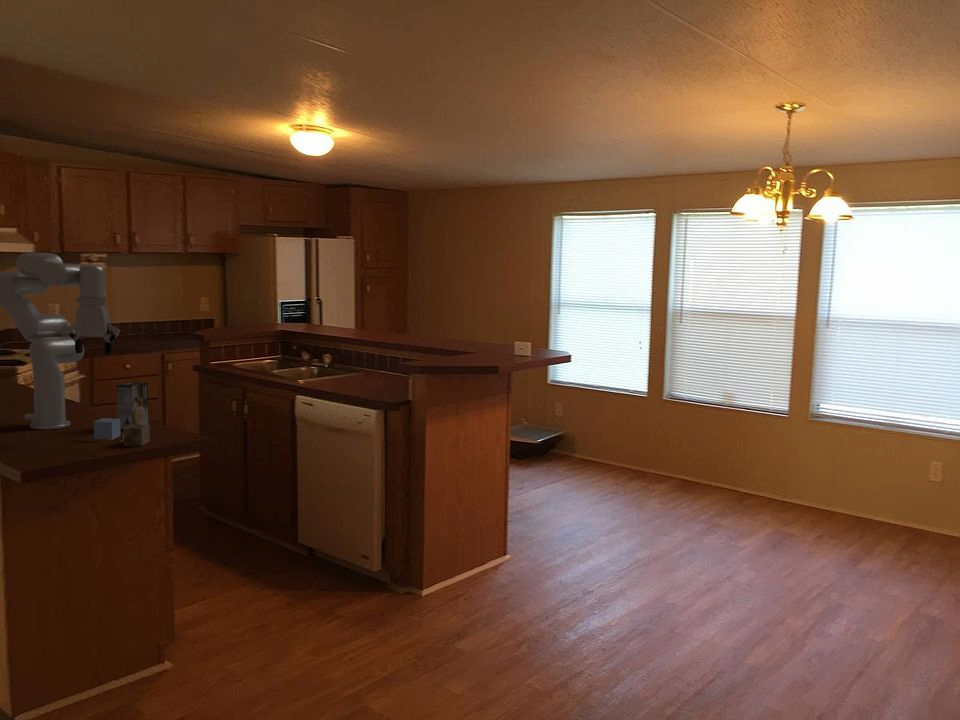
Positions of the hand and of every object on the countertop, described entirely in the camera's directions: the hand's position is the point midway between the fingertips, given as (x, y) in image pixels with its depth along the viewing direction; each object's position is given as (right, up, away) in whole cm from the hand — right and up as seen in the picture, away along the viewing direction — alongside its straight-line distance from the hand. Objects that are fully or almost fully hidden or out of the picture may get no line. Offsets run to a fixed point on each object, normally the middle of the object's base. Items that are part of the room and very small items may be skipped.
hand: (93, 353), depth 257 cm
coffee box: (+5, -27, +18) cm, 33 cm away
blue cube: (+4, -28, +1) cm, 29 cm away
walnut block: (+17, -30, -5) cm, 35 cm away
